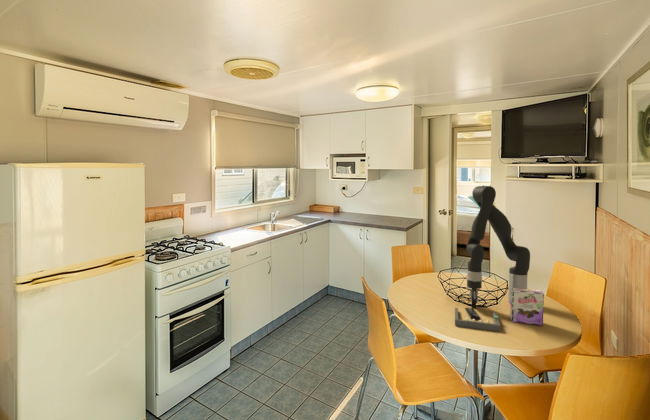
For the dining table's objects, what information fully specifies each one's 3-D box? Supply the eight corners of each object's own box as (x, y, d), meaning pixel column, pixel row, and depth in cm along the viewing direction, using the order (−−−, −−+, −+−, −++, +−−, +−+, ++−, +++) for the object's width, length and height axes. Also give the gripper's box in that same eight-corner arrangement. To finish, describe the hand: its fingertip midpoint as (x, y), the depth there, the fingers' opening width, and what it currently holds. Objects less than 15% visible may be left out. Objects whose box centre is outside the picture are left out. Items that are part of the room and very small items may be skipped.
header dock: (454, 313, 183) (454, 305, 183) (495, 318, 176) (496, 310, 176) (454, 325, 165) (455, 317, 165) (500, 332, 158) (501, 323, 157)
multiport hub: (471, 320, 173) (471, 316, 173) (464, 311, 187) (464, 307, 187) (480, 321, 172) (480, 317, 172) (472, 312, 186) (472, 308, 186)
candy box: (511, 322, 171) (512, 290, 170) (510, 318, 176) (510, 287, 175) (543, 325, 166) (544, 293, 165) (540, 321, 171) (541, 290, 170)
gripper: (466, 275, 195) (466, 305, 195) (467, 281, 182) (466, 312, 183) (480, 277, 192) (480, 306, 193) (482, 282, 180) (481, 314, 180)
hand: (473, 309), depth 188 cm, fingers closed
